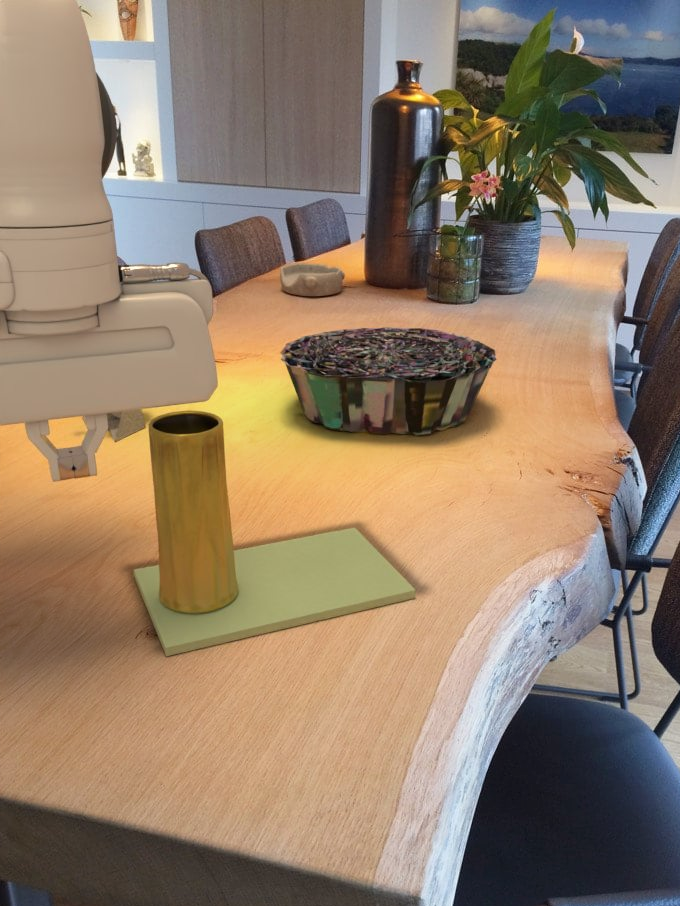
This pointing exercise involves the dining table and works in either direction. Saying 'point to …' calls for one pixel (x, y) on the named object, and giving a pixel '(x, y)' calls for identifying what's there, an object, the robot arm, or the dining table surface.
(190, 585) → the vase
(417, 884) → the dining table surface
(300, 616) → the mat
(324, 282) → the dish
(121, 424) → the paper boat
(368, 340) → the decorative bowl
